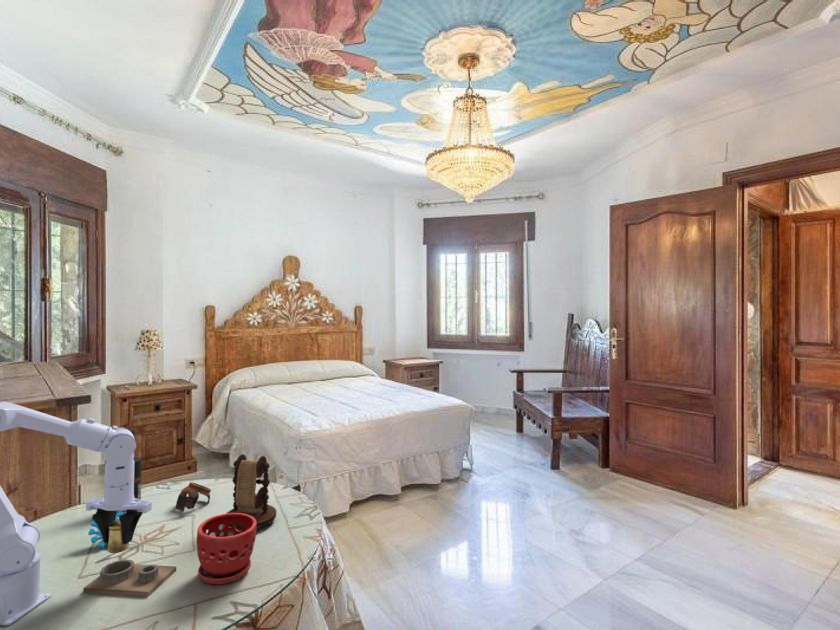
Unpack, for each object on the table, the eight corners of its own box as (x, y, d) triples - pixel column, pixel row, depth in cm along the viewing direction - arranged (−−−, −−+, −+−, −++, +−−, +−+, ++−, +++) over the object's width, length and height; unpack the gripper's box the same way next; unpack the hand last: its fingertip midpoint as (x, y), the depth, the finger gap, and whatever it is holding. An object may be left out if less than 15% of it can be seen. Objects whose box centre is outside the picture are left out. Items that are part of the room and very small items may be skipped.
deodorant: (120, 505, 144) (121, 458, 144) (142, 502, 146) (143, 456, 146) (116, 512, 138) (117, 464, 138) (139, 509, 141) (140, 461, 141)
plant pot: (190, 594, 99) (191, 540, 99) (201, 562, 112) (202, 514, 112) (253, 585, 103) (254, 533, 103) (257, 555, 115) (258, 509, 115)
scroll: (212, 531, 127) (213, 461, 128) (241, 509, 142) (243, 446, 142) (259, 537, 125) (261, 465, 125) (285, 514, 139) (286, 450, 139)
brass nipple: (121, 553, 102) (122, 527, 102) (103, 553, 102) (103, 526, 102) (133, 544, 106) (134, 518, 106) (115, 543, 106) (116, 518, 106)
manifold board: (148, 596, 98) (148, 582, 98) (83, 592, 99) (83, 578, 99) (176, 570, 108) (176, 558, 108) (116, 567, 109) (117, 554, 109)
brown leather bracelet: (173, 505, 146) (186, 479, 149) (201, 514, 148) (214, 489, 152) (171, 509, 135) (186, 482, 139) (202, 520, 138) (215, 492, 141)
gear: (89, 549, 114) (89, 511, 119) (83, 560, 116) (84, 522, 122) (139, 541, 121) (137, 505, 127) (132, 551, 124) (130, 516, 130)
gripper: (160, 477, 107) (159, 534, 107) (102, 475, 108) (101, 531, 108) (140, 489, 100) (139, 550, 100) (78, 486, 101) (77, 546, 101)
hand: (118, 541), depth 104 cm, fingers closed on brass nipple, 4 cm apart
